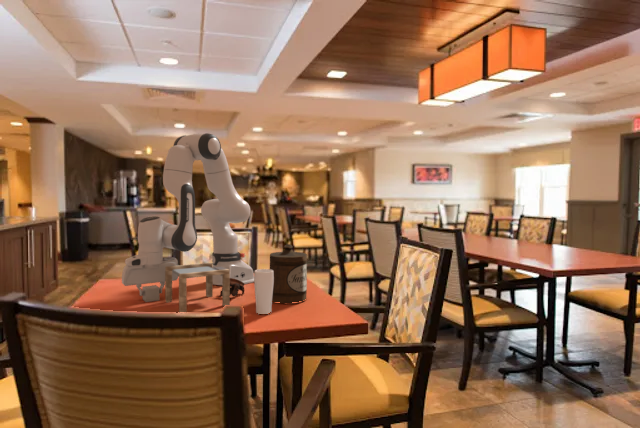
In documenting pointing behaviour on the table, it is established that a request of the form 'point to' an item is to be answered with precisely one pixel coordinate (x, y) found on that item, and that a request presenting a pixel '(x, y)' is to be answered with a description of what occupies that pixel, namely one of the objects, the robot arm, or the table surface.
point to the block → (151, 293)
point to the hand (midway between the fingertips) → (150, 294)
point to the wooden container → (289, 275)
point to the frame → (196, 274)
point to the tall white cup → (263, 290)
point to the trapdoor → (196, 270)
